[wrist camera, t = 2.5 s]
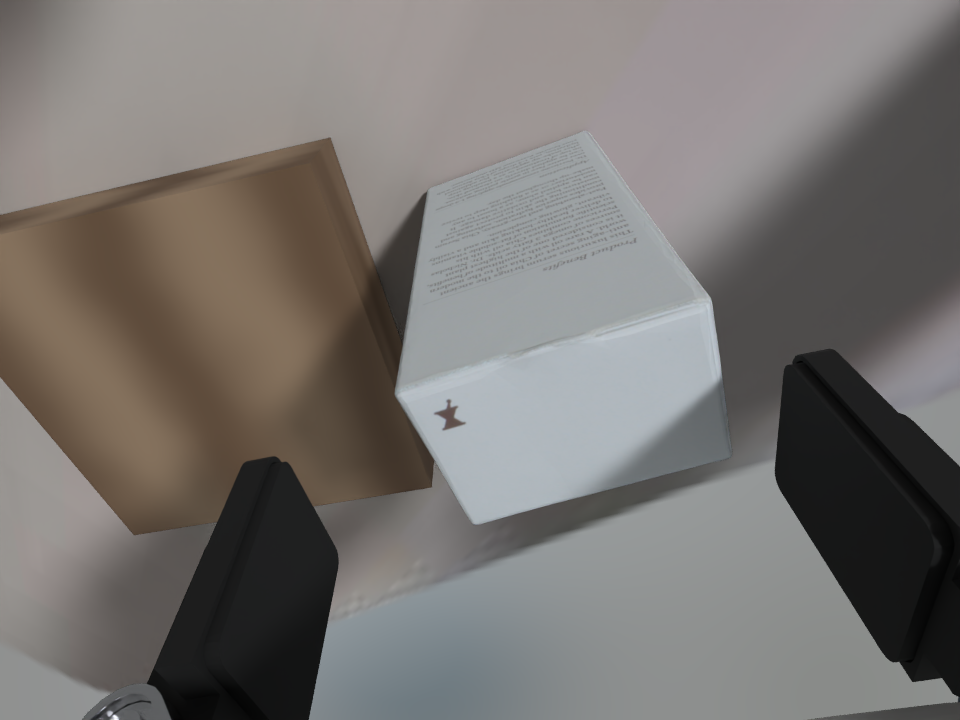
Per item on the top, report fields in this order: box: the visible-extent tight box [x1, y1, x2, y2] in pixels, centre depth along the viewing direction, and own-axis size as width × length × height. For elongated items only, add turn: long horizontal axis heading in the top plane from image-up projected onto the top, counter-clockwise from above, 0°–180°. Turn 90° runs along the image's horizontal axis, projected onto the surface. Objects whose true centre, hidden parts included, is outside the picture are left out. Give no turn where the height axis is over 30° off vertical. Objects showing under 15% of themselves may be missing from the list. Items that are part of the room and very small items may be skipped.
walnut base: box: [0, 138, 434, 535], centre depth 23 cm, size 14×14×3 cm
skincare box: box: [395, 131, 732, 525], centre depth 16 cm, size 6×4×12 cm
